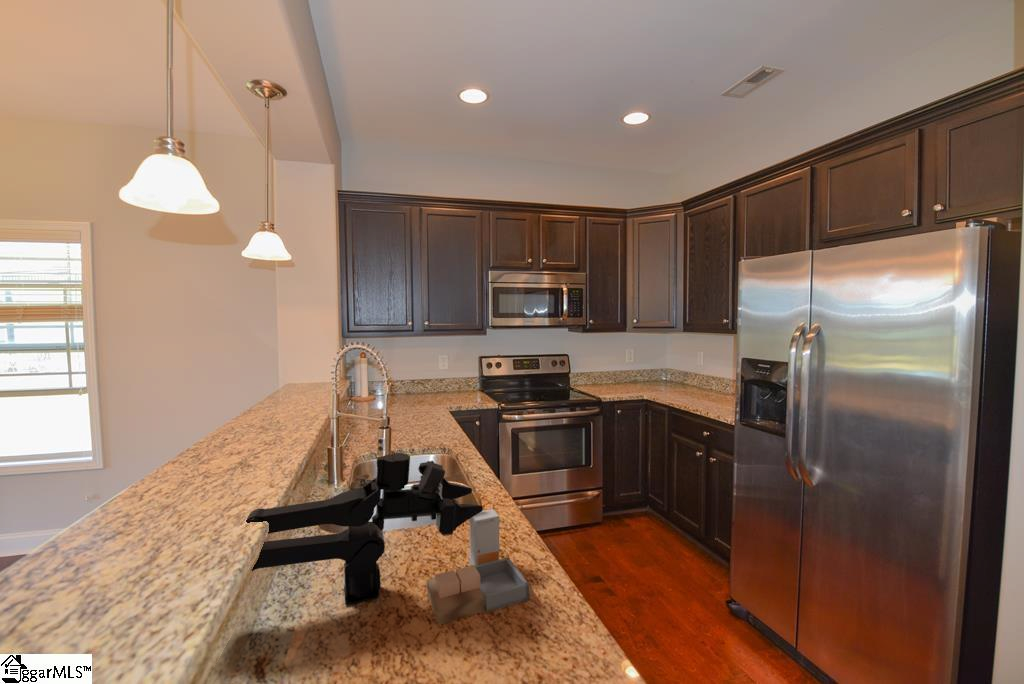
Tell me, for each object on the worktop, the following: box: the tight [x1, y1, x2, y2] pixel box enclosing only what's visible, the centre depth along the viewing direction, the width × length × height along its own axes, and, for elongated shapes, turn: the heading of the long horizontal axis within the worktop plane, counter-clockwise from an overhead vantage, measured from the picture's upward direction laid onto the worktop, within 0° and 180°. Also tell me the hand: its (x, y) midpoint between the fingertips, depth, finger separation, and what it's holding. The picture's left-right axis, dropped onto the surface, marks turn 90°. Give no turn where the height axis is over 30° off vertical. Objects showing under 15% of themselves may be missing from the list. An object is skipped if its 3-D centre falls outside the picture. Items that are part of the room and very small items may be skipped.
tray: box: [475, 557, 530, 613], centre depth 90 cm, size 9×11×3 cm
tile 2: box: [454, 565, 480, 593], centre depth 88 cm, size 4×4×2 cm
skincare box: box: [469, 508, 500, 566], centre depth 99 cm, size 6×4×12 cm
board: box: [426, 577, 485, 626], centre depth 87 cm, size 9×10×3 cm
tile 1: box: [434, 569, 460, 598], centre depth 86 cm, size 4×4×2 cm
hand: (476, 498), depth 98 cm, fingers open, 9 cm apart
